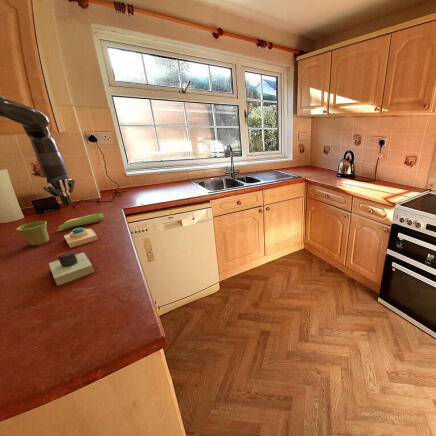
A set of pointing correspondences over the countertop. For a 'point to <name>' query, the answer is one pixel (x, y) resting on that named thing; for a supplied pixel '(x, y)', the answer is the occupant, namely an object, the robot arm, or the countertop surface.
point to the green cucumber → (82, 221)
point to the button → (78, 230)
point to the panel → (71, 270)
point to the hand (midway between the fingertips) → (67, 204)
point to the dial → (67, 259)
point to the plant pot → (35, 232)
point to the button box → (80, 237)
